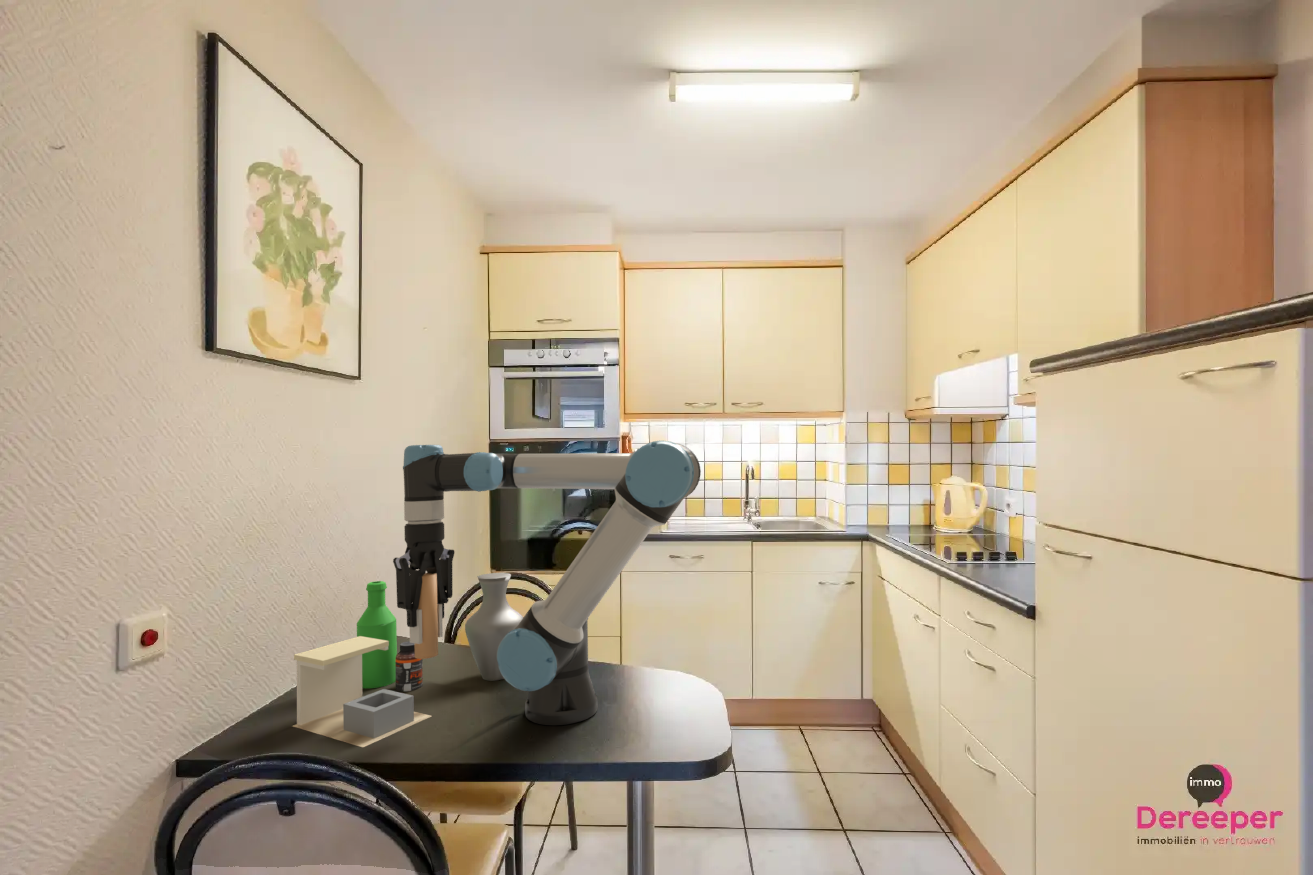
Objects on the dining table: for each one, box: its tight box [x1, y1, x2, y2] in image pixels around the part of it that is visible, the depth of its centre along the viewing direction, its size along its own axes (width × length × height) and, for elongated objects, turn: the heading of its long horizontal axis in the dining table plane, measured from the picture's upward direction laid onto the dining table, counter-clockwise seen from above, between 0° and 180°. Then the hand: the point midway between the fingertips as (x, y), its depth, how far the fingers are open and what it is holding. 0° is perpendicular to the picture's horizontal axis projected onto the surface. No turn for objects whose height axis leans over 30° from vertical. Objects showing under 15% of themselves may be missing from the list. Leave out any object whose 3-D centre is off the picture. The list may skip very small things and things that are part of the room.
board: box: [292, 709, 433, 748], centre depth 130 cm, size 22×16×1 cm
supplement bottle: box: [395, 640, 424, 692], centre depth 149 cm, size 6×6×11 cm
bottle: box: [356, 580, 398, 689], centre depth 154 cm, size 9×9×25 cm
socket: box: [343, 688, 415, 739], centre depth 127 cm, size 9×9×5 cm
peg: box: [415, 572, 439, 660], centre depth 127 cm, size 4×4×16 cm
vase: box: [464, 572, 524, 681], centre depth 159 cm, size 14×14×25 cm
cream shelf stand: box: [293, 636, 389, 725], centre depth 133 cm, size 10×15×14 cm, turn 151°
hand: (426, 639), depth 127 cm, fingers closed on peg, 4 cm apart
